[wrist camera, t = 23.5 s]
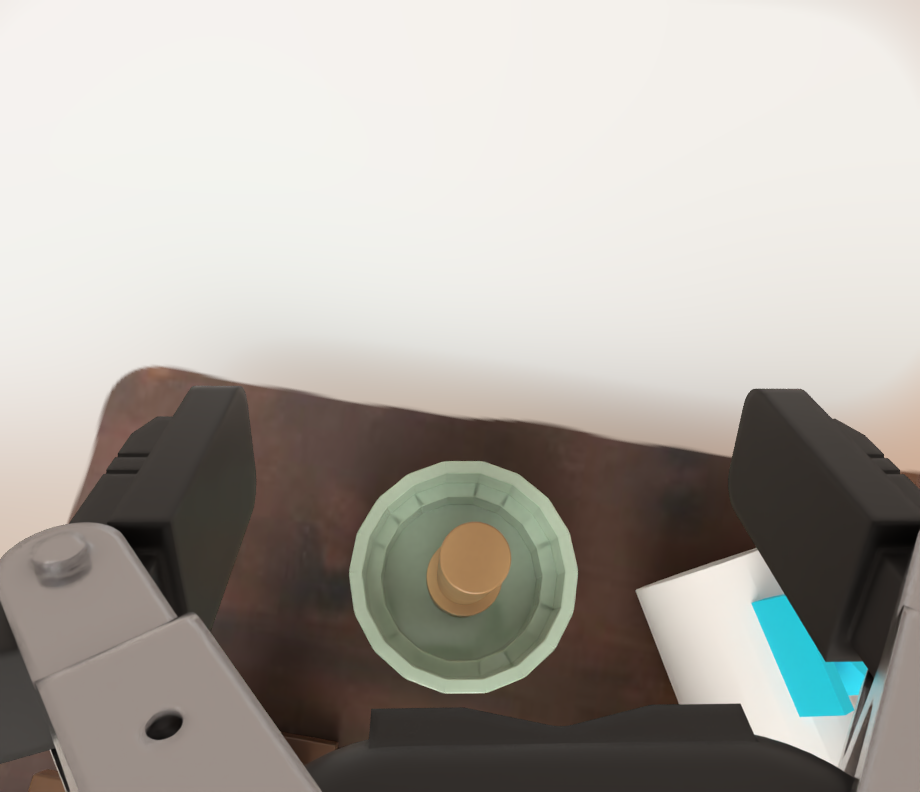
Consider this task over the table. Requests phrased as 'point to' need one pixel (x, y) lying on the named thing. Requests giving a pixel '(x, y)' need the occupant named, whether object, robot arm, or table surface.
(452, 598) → the muddler
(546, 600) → the bowl
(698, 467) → the table surface
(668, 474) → the table surface
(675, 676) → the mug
